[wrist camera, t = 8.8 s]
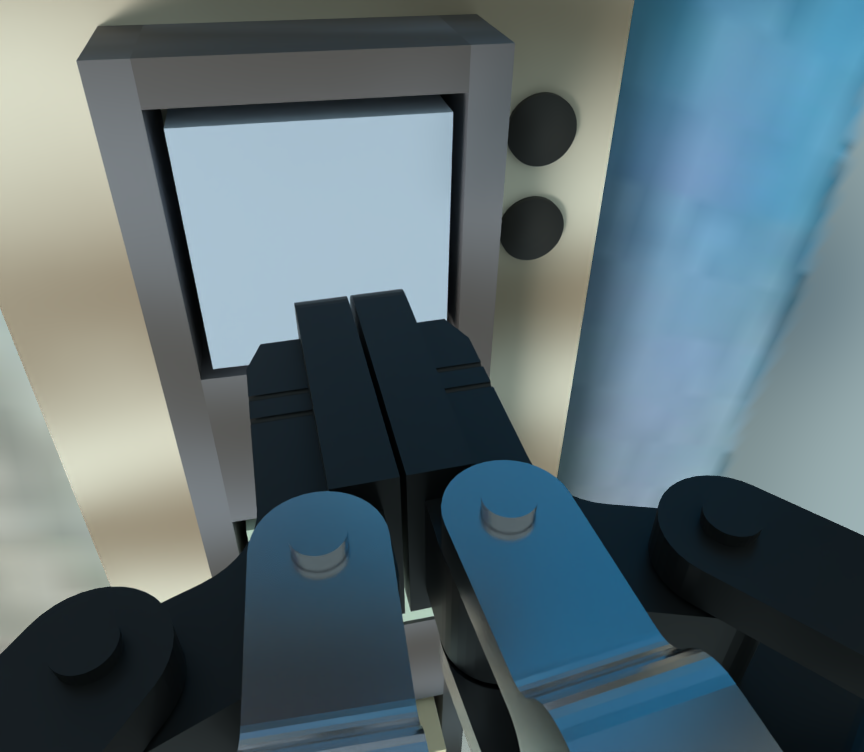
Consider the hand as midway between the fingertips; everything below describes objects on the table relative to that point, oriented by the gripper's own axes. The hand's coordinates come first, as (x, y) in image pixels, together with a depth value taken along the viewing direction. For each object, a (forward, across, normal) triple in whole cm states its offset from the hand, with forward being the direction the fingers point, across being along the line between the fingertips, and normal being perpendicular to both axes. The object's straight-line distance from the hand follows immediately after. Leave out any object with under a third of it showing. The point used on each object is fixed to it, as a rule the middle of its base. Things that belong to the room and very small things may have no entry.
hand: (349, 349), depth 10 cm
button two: (+7, 0, +1) cm, 7 cm away
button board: (+10, 0, +11) cm, 15 cm away
